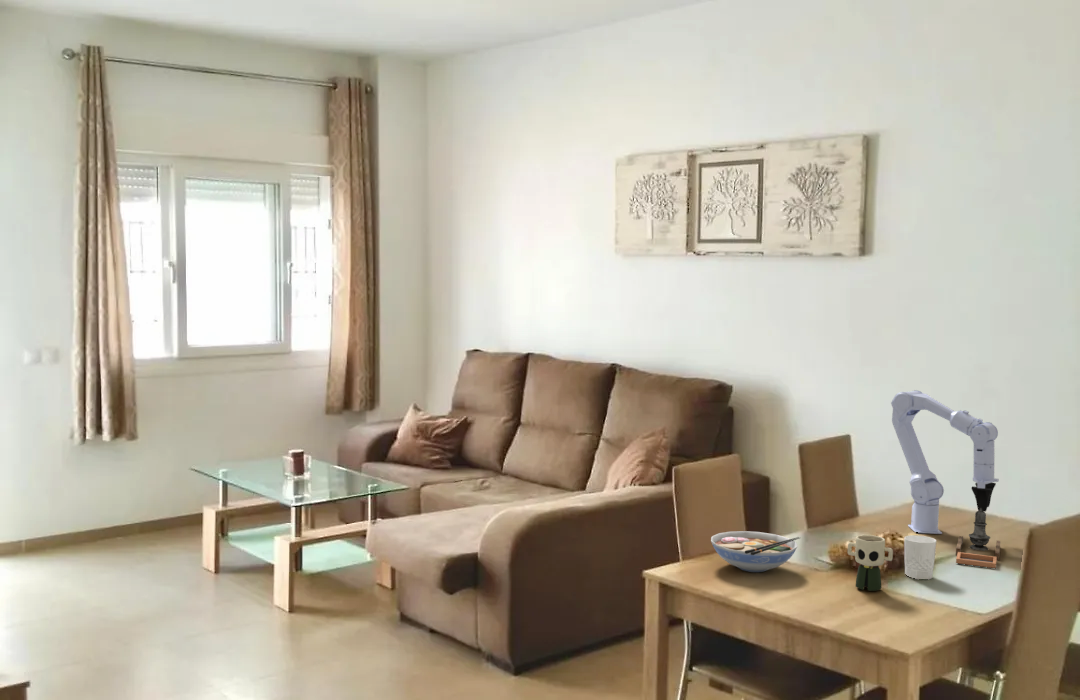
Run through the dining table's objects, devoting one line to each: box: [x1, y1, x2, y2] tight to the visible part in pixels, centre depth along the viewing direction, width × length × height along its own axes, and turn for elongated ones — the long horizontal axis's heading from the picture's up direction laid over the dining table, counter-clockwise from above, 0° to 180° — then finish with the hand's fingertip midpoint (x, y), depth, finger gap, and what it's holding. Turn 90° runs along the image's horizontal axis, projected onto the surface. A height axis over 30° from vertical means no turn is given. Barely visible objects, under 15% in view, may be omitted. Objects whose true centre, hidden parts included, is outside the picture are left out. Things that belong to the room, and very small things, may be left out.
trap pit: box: [955, 552, 998, 570], centre depth 282 cm, size 8×10×2 cm
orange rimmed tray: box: [955, 535, 1001, 562], centre depth 295 cm, size 16×11×2 cm
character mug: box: [847, 534, 894, 592], centre depth 255 cm, size 11×7×13 cm, turn 60°
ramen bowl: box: [710, 530, 800, 573], centre depth 272 cm, size 25×23×8 cm
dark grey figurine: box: [968, 508, 991, 552], centre depth 298 cm, size 6×6×12 cm
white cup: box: [903, 534, 937, 580], centre depth 268 cm, size 8×8×10 cm
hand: (983, 508), depth 304 cm, fingers open, 7 cm apart
